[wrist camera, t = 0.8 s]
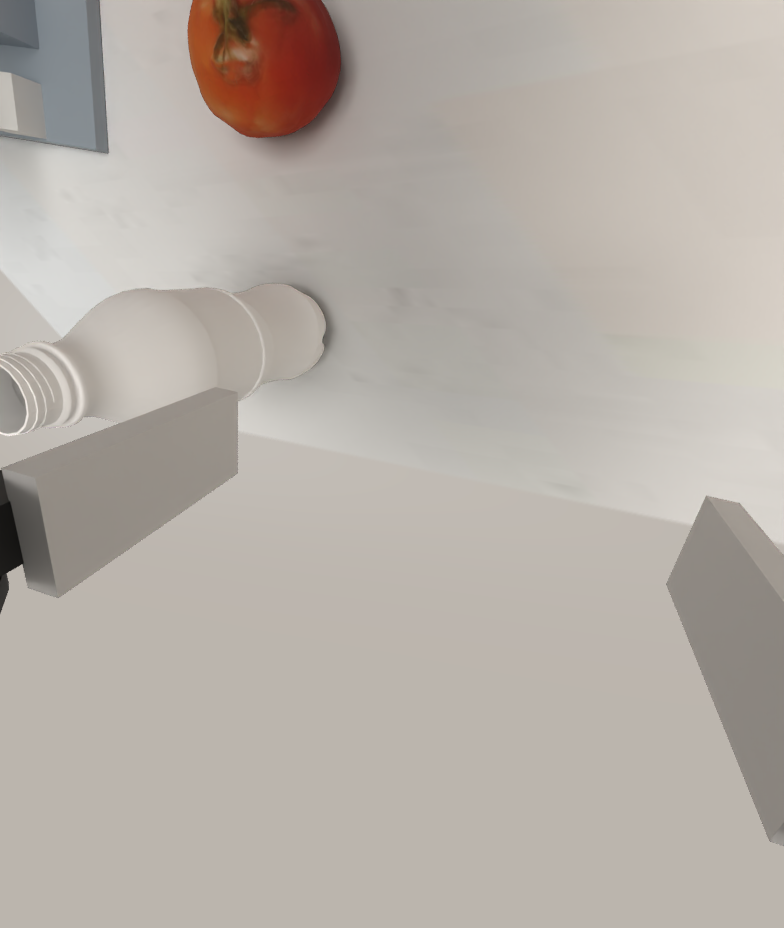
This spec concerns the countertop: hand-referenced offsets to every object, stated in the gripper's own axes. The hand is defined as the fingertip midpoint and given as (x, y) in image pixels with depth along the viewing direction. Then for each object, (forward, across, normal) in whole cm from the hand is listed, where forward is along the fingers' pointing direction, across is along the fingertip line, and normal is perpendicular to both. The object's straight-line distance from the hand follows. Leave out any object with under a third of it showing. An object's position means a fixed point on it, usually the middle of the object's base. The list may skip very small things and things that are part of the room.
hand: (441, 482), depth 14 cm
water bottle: (+26, -17, -2) cm, 31 cm away
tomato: (+26, -18, +16) cm, 35 cm away
